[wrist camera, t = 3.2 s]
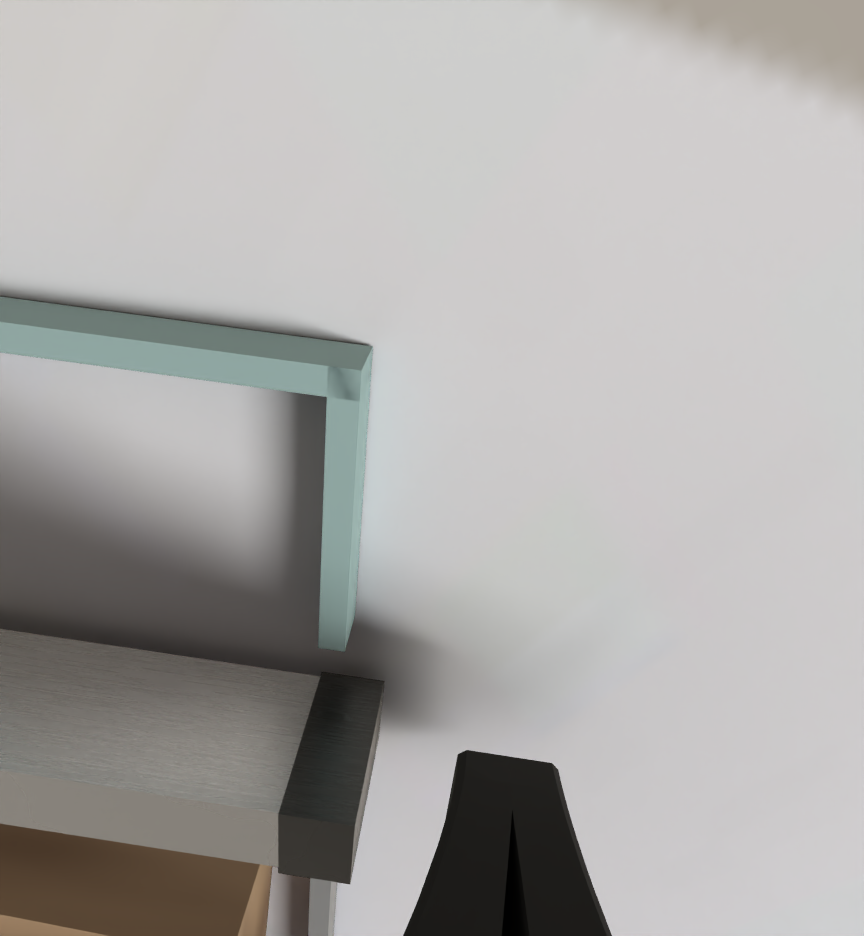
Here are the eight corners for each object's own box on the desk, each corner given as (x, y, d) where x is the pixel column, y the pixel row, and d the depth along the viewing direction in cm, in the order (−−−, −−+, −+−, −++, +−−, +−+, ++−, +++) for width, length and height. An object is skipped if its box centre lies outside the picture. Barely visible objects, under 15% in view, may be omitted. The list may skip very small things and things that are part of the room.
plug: (268, 931, 17) (223, 1091, 14) (54, 890, 17) (-29, 1041, 14) (281, 796, 15) (230, 959, 12) (31, 747, 15) (-75, 899, 12)
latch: (379, 737, 12) (349, 884, 10) (-144, 658, 13) (-281, 785, 10) (384, 681, 12) (354, 826, 10) (-167, 599, 12) (-318, 722, 10)
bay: (355, 615, 12) (344, 652, 11) (-125, 545, 12) (-165, 577, 11) (372, 346, 9) (361, 370, 9) (-221, 266, 10) (-277, 284, 9)
